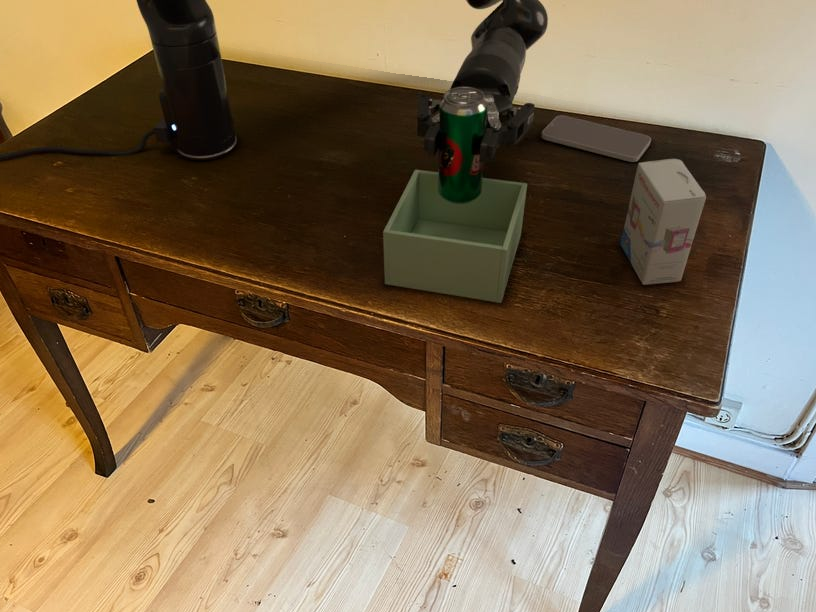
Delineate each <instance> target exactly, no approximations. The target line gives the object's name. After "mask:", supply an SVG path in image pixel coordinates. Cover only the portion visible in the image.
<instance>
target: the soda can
mask: <svg viewBox="0 0 816 612" xmlns="http://www.w3.org/2000/svg"><path fill="white" fill-rule="evenodd" d="M442 97H443V100H442V102H441V103H440V111H439V112H438V113H439V149H438V164H437V165H438V171H437V172H438V192H439V194H440V195H441V197H442V198H444V199H445V200H446V201H448V202H451V203H455V204H465V203H469V202H472V201H474V200H475V199H476V198H477V197H478V196H479V195H480V194H481V192H482V180H483V178H484V177H483V176H484V163H485V162H480V161H479V158H480V146H481V142H482V139H483V137H484V134H485V132H486V121H487V103H486V101H485V99H484V98H485V96H484V93H483V92H482V91H480V90H478V89H476V88H472V87H457V88H453V89H450V88H449V89H448V90H446V91H445V92H444V93H443V95H442Z"/></svg>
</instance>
